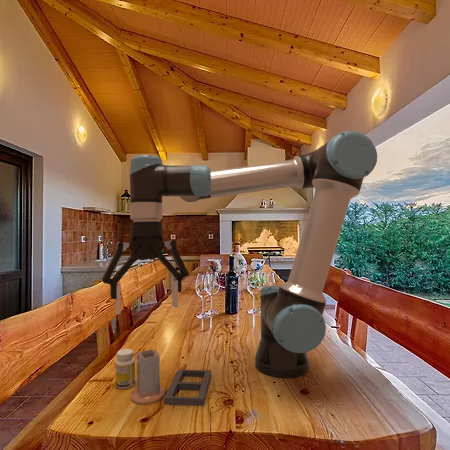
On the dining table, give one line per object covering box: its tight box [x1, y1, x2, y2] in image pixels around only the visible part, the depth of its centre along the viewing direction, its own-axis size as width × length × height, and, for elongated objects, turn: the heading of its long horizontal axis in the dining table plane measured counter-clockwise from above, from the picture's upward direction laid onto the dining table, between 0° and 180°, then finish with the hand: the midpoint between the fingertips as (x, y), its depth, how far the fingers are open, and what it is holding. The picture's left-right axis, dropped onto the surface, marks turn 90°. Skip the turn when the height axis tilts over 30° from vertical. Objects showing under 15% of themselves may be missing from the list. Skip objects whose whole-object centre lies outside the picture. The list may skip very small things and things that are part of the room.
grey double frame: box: [163, 369, 212, 407], centre depth 79 cm, size 9×14×2 cm, turn 176°
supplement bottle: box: [115, 348, 136, 390], centre depth 81 cm, size 5×5×8 cm
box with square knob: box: [136, 348, 161, 398], centre depth 76 cm, size 4×4×9 cm
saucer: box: [130, 384, 166, 405], centre depth 76 cm, size 8×8×1 cm
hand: (147, 309), depth 76 cm, fingers open, 13 cm apart
